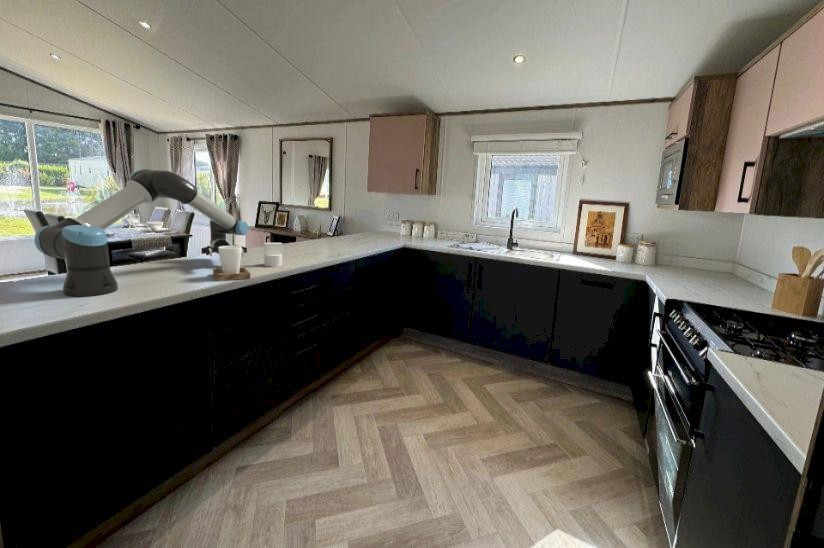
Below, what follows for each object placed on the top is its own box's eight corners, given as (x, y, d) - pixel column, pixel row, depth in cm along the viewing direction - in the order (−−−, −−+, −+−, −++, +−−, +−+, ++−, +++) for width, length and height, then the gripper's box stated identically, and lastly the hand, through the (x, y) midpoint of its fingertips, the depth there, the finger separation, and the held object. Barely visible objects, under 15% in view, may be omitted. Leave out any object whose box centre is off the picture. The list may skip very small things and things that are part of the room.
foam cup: (232, 278, 164) (231, 249, 162) (214, 276, 166) (213, 247, 164) (246, 274, 173) (246, 247, 171) (229, 272, 175) (228, 245, 173)
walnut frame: (216, 280, 161) (216, 275, 160) (213, 274, 172) (212, 268, 171) (250, 278, 168) (250, 273, 168) (244, 272, 179) (244, 267, 179)
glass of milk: (265, 266, 195) (265, 244, 193) (263, 263, 203) (263, 241, 200) (283, 266, 199) (283, 244, 197) (280, 263, 207) (280, 242, 205)
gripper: (247, 252, 201) (255, 259, 184) (194, 254, 188) (197, 262, 171) (246, 239, 200) (254, 244, 183) (193, 239, 186) (196, 245, 169)
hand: (227, 253), depth 177 cm, fingers open, 13 cm apart
